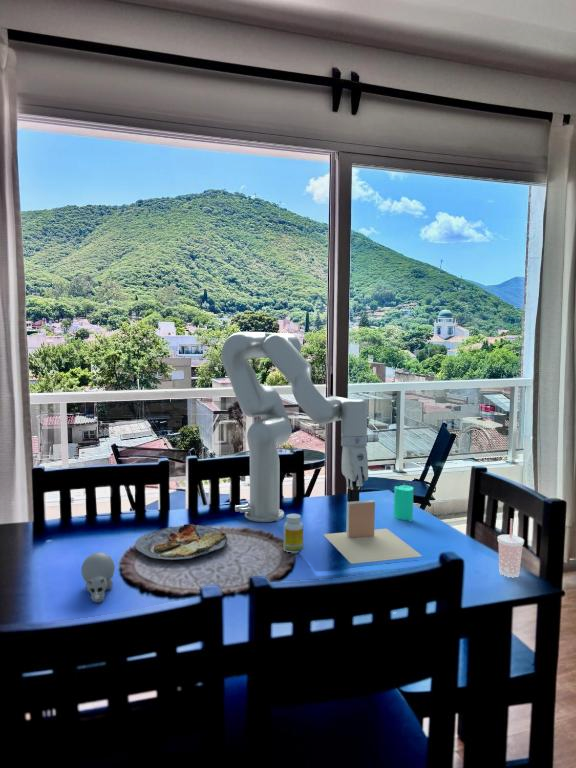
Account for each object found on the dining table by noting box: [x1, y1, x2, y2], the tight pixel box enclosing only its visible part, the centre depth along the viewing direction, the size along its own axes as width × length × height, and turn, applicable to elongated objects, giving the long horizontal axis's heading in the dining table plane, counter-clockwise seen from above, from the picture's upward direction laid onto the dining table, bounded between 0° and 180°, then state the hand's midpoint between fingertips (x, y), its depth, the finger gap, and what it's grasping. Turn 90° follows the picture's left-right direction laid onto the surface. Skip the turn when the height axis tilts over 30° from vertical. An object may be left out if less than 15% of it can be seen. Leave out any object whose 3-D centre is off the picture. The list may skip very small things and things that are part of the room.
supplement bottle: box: [282, 513, 304, 554], centre depth 157 cm, size 5×5×10 cm
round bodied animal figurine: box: [80, 552, 116, 604], centre depth 130 cm, size 7×12×8 cm, turn 13°
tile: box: [345, 499, 376, 538], centre depth 165 cm, size 8×2×10 cm, turn 105°
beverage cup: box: [497, 518, 525, 579], centre depth 142 cm, size 6×6×14 cm
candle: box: [393, 484, 415, 523], centre depth 183 cm, size 6×6×12 cm
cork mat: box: [322, 528, 423, 565], centre depth 159 cm, size 20×22×1 cm
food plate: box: [134, 523, 228, 561], centre depth 159 cm, size 25×23×4 cm
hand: (353, 501), depth 171 cm, fingers closed
